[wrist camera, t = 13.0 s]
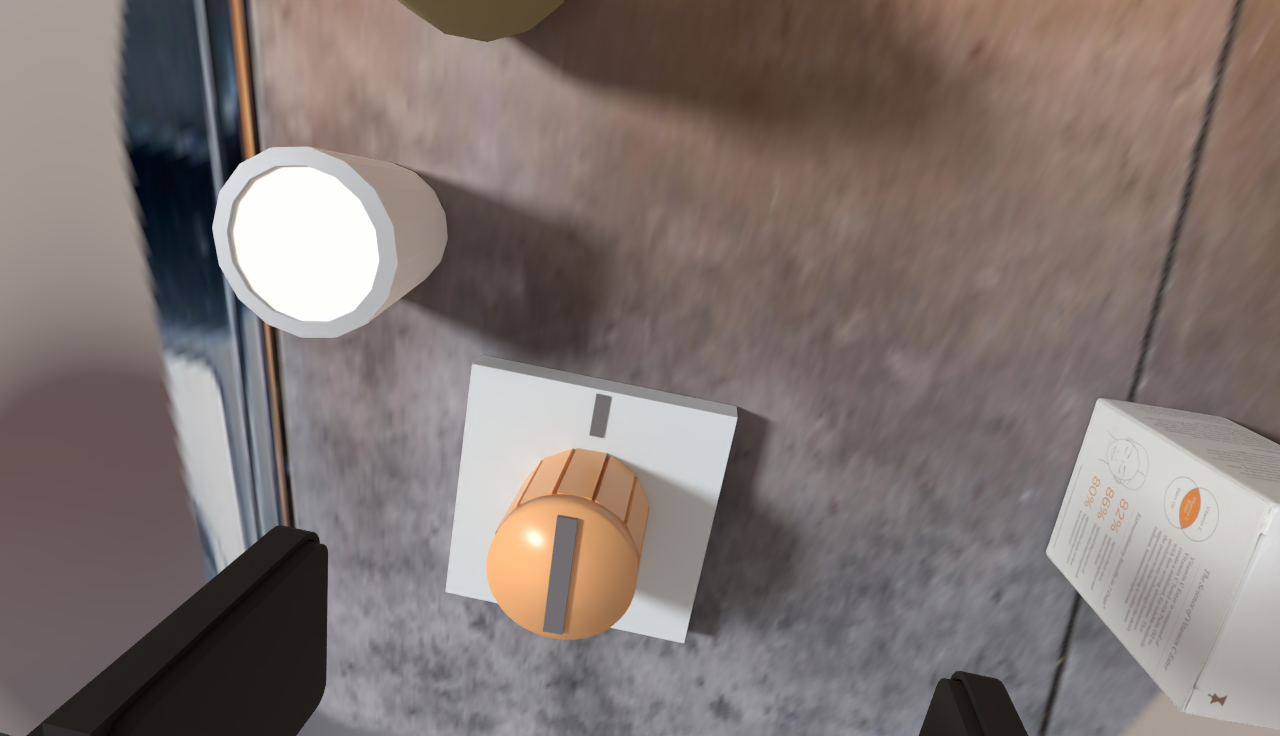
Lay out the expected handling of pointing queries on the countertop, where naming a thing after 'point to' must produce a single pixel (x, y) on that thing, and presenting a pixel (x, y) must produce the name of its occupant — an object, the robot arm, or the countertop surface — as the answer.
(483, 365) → the knob base plate
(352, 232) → the white cup
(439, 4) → the squeeze bottle
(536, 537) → the cap
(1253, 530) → the small box
